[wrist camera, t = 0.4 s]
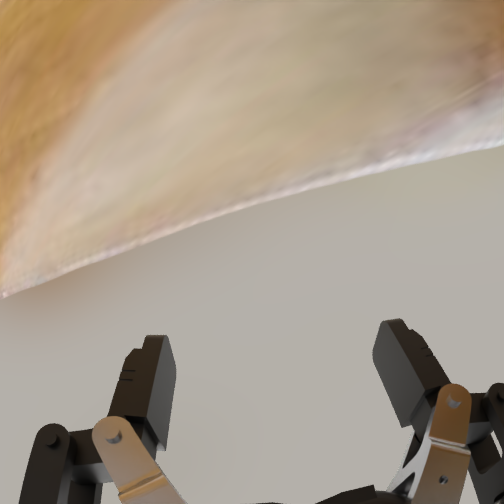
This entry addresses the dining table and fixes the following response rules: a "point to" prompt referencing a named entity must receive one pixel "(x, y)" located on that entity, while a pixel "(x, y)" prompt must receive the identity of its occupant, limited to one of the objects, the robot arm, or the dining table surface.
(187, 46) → the dining table surface
